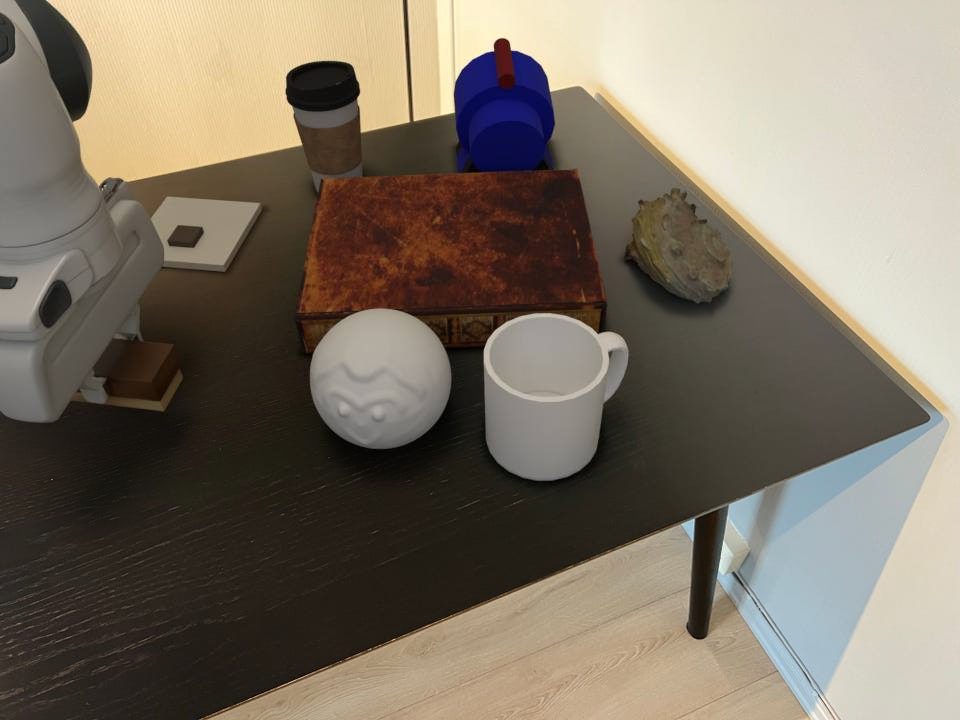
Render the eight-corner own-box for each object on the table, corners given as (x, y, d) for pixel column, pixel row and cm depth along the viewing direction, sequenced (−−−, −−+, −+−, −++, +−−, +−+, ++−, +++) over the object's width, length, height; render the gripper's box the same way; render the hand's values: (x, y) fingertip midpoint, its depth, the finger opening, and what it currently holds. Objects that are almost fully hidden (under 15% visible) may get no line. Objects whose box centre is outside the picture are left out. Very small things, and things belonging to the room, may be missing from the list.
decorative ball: (304, 468, 69) (276, 373, 60) (344, 369, 77) (324, 273, 68) (439, 485, 67) (429, 390, 59) (465, 383, 75) (460, 286, 67)
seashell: (656, 334, 81) (679, 263, 73) (597, 242, 90) (611, 169, 82) (749, 310, 84) (781, 239, 76) (683, 223, 92) (705, 150, 85)
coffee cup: (355, 210, 96) (337, 93, 85) (293, 199, 98) (267, 83, 87) (384, 174, 101) (369, 60, 90) (324, 163, 103) (303, 51, 93)
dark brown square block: (168, 246, 90) (166, 240, 89) (179, 230, 92) (177, 224, 91) (193, 248, 90) (191, 242, 89) (204, 232, 92) (202, 226, 91)
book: (303, 355, 78) (293, 318, 75) (327, 213, 95) (321, 177, 92) (602, 343, 79) (607, 305, 75) (574, 204, 96) (577, 168, 92)
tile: (124, 263, 89) (121, 256, 89) (169, 203, 98) (167, 196, 97) (225, 272, 88) (223, 265, 87) (262, 209, 96) (260, 202, 96)
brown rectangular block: (62, 401, 68) (44, 370, 66) (87, 365, 71) (71, 333, 69) (165, 413, 67) (151, 381, 64) (186, 376, 70) (173, 344, 68)
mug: (513, 498, 66) (514, 418, 59) (468, 414, 73) (464, 333, 65) (644, 450, 69) (661, 368, 62) (590, 374, 76) (599, 292, 68)
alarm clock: (546, 139, 106) (551, 27, 96) (558, 190, 98) (565, 74, 87) (455, 143, 106) (450, 32, 95) (459, 196, 97) (454, 79, 87)
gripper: (83, 162, 65) (136, 290, 75) (-74, 332, 51) (17, 461, 61) (155, 168, 65) (199, 296, 75) (16, 342, 51) (94, 471, 61)
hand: (116, 372), depth 68 cm, fingers closed on brown rectangular block, 4 cm apart
